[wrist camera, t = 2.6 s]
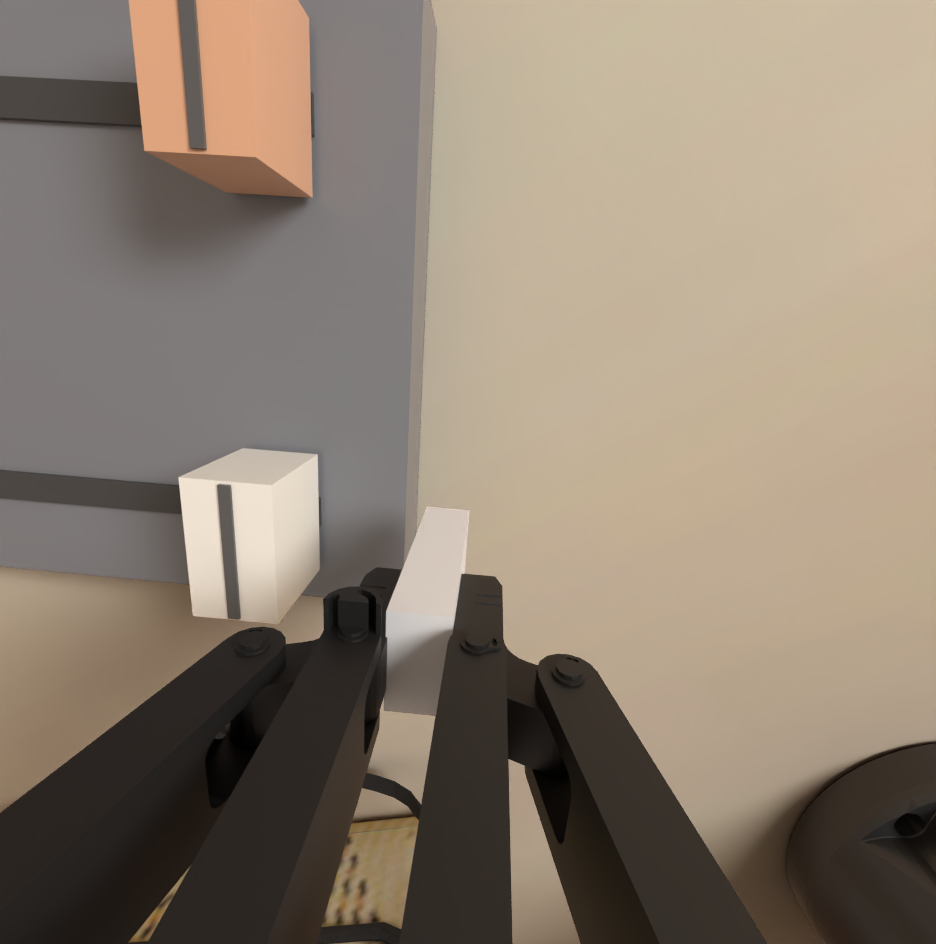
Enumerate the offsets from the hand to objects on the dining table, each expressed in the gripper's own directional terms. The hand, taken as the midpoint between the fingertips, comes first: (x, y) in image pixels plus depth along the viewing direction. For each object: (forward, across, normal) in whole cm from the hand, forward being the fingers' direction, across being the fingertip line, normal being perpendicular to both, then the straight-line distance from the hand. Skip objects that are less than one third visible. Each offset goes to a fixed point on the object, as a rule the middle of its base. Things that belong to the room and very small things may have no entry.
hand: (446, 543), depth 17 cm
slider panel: (+6, +15, -7) cm, 17 cm away
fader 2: (+2, +7, 0) cm, 7 cm away
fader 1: (+2, +7, -14) cm, 16 cm away
